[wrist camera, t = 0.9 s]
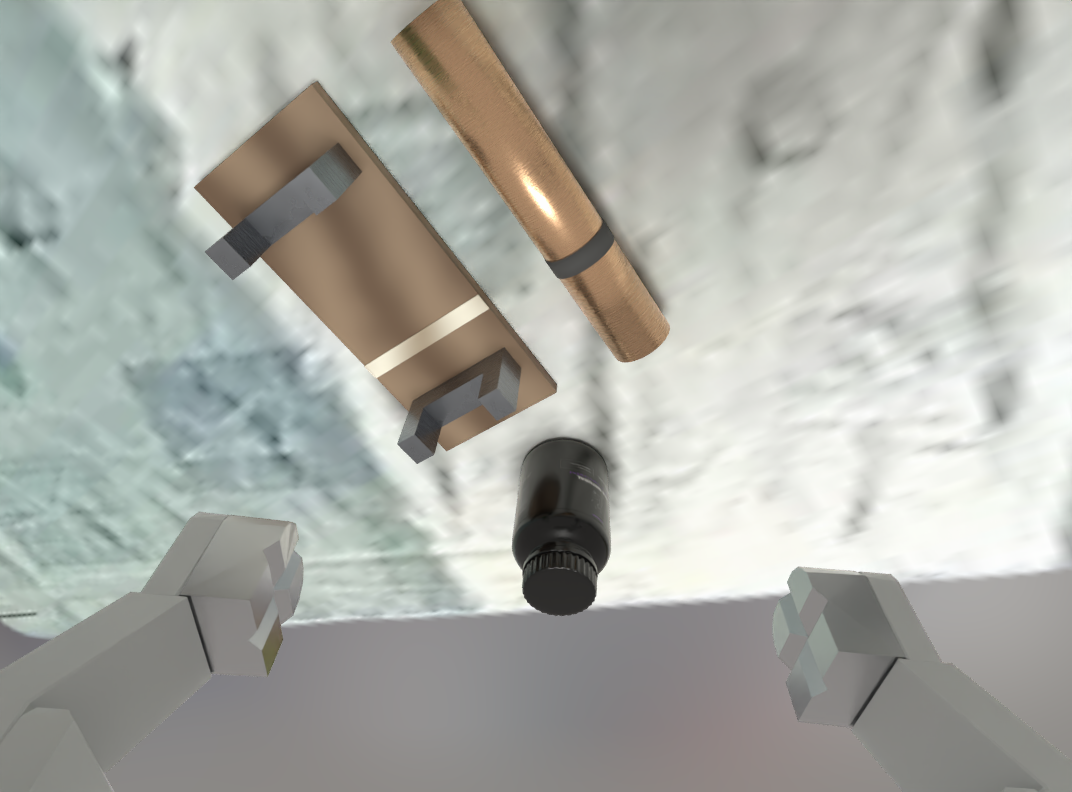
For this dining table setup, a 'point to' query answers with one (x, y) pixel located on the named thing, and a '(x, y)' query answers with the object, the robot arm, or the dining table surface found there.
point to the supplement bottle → (562, 526)
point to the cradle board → (373, 265)
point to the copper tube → (530, 175)
